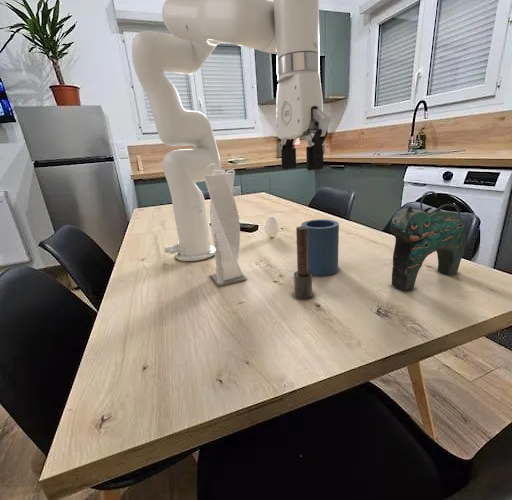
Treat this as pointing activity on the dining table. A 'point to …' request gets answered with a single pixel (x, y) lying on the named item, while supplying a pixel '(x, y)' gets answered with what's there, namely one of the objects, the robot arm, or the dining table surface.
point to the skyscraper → (224, 226)
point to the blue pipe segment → (322, 246)
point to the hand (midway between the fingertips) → (301, 169)
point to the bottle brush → (302, 266)
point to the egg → (271, 226)
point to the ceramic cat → (426, 242)
